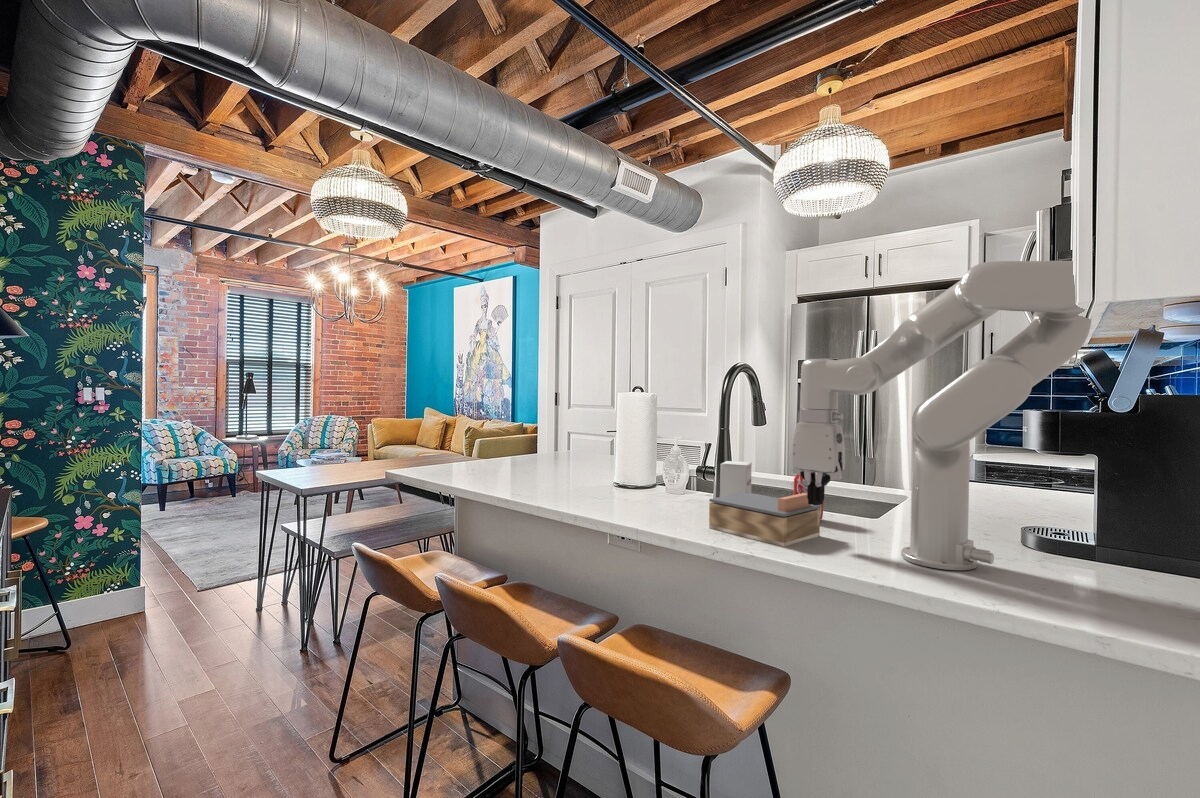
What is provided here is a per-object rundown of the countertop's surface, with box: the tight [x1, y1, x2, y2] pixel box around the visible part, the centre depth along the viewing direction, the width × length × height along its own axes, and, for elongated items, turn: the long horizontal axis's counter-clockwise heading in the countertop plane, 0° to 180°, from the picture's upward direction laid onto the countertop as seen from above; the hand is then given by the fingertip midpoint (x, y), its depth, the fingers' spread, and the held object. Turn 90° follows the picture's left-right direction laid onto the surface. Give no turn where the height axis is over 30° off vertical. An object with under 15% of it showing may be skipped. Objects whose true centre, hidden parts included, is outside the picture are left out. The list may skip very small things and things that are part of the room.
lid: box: [708, 492, 820, 517], centre depth 131 cm, size 20×14×3 cm
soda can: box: [792, 472, 824, 521], centre depth 143 cm, size 7×7×12 cm
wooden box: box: [708, 502, 821, 548], centre depth 131 cm, size 20×14×6 cm
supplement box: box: [719, 460, 753, 497], centre depth 156 cm, size 7×7×13 cm
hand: (815, 504), depth 120 cm, fingers closed
